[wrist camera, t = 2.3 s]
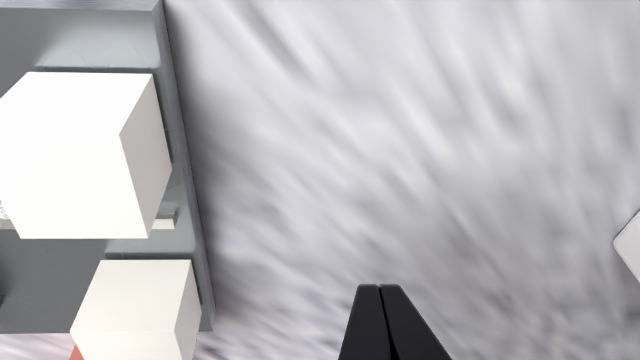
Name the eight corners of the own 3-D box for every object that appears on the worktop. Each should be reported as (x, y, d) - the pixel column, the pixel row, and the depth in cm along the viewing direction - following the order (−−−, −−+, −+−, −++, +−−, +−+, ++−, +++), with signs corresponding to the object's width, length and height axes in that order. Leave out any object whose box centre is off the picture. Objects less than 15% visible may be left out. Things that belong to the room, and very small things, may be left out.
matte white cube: (191, 259, 18) (173, 330, 16) (202, 316, 21) (189, 386, 18) (100, 259, 18) (69, 331, 16) (123, 317, 21) (98, 387, 18)
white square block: (152, 73, 13) (118, 134, 11) (171, 169, 16) (148, 238, 13) (27, 72, 13) (-35, 132, 11) (65, 169, 15) (20, 238, 13)
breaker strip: (161, -4, 13) (134, 33, 11) (216, 309, 23) (207, 363, 21) (-202, -13, 13) (-304, 24, 11) (6, 311, 22) (-26, 366, 20)
